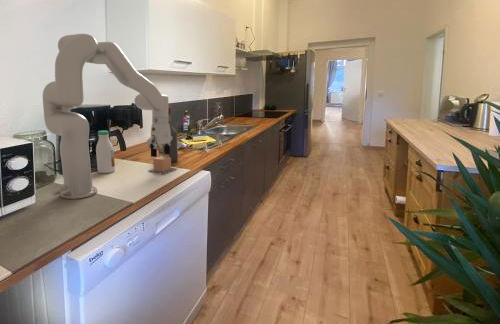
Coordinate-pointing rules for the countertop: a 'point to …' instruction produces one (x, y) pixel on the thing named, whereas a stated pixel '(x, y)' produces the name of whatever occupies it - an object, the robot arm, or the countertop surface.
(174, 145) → the liquor
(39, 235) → the countertop surface
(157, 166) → the cube
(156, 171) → the coaster
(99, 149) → the milk bottle
